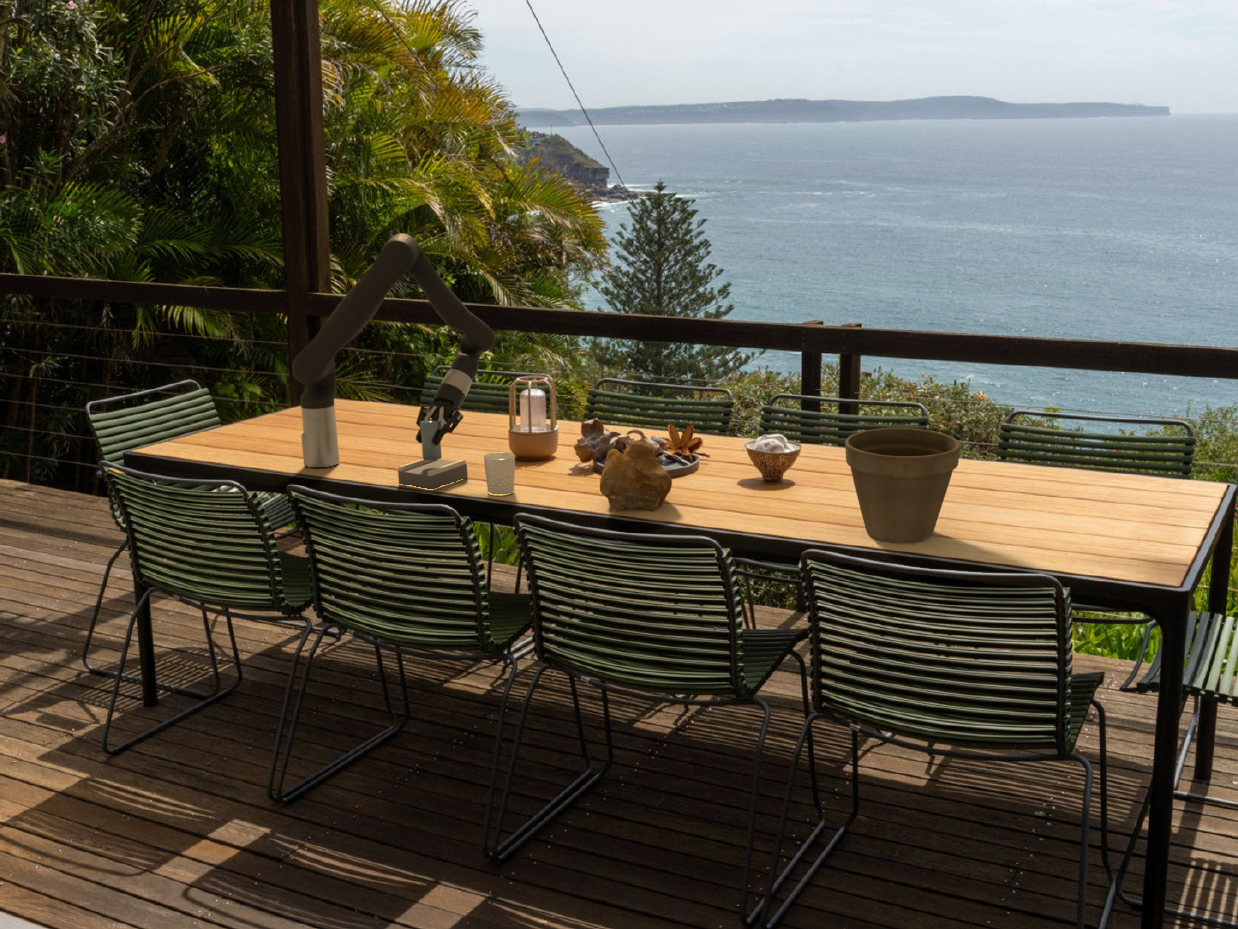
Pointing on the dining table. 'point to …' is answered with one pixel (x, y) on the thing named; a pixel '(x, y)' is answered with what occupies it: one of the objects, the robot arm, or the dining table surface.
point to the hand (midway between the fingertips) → (426, 442)
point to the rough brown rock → (634, 478)
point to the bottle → (430, 439)
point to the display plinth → (432, 473)
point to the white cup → (500, 472)
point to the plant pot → (901, 480)
